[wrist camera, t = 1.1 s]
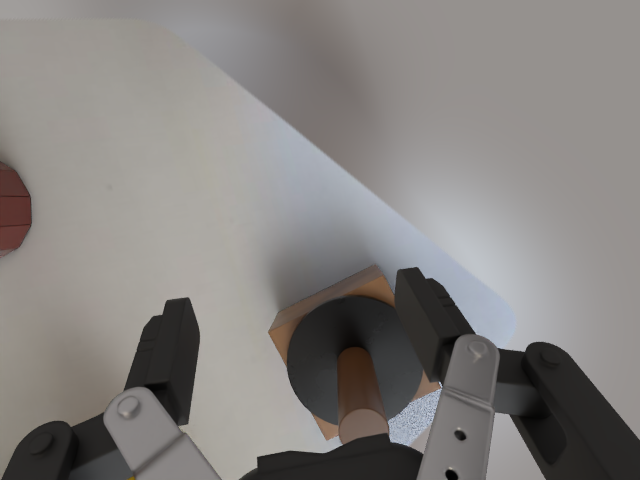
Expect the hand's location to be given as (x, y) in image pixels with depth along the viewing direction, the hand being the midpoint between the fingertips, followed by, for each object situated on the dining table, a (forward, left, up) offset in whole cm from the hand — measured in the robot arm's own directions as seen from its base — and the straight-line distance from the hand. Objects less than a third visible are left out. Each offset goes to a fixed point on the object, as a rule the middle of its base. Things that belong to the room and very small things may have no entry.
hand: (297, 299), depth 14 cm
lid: (+1, +8, -12) cm, 15 cm away
